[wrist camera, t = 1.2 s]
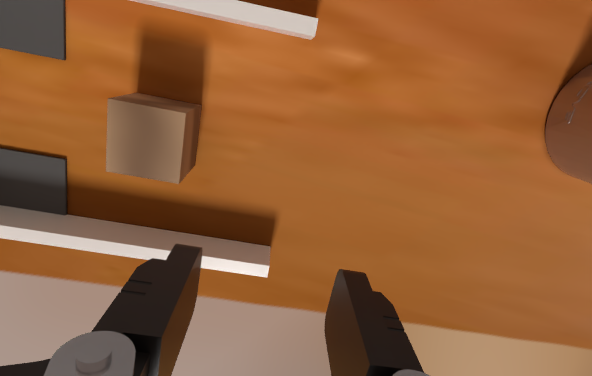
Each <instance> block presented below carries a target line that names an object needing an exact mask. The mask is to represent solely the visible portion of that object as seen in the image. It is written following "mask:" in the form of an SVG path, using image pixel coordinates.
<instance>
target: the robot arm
mask: <svg viewBox="0 0 592 376" xmlns="http://www.w3.org/2000/svg"><path fill="white" fill-rule="evenodd" d="M545 142H546V146H547V150H548V153H549V155H550V157H551V159H552V161H553V162H554V163H555V164H556V165H557V167H558V168H559V169H560V170H562V171H563V172H565V173H567V174H568V175H570V176H573V177H576V178H578V179H581V180H583V181H586V182H588V183H591V184H592V64H591V65H589V66H587V67H586V68H584V69H583V70H581V71H580V72H579V73H578V74H576V75H575V76H574V77H573V78H572V79H571V80H570V81H569V82H568V83H567V84H566V85H565V86H564V87H563V89H562V90H561V91H560V93H559V95H558V96H557V98H556V99H555V101H554V103H553V105H552V107H551V110H550V112H549V114H548V118H547V123H546V128H545ZM202 251H203V250H202V247H196V246H189V245H183V244H175V245H174V247H173V249H172V250H171V252H170V254H169V255H168V257H167V259H166V260H162V259H155V258H152V259H150V260H148V261H147V262H145V263H143V264H142V265H140V266H138V267H137V268H136V270H135V271H134V273H133V274H132V275H131V277H130V278H129V280H128V282H126V284H125V285H124V287H123V288H122V289H121V293H119V294H118V295H117V296H116V298H115V299H114V301H113V302H112V304H111V305H110V306H109V308H108V309H107V311H106V312H105V314H104V315H103V316H102V318H101V319H100V320H99V322H98V323H97V325H96V326H95V328H94V329H93V330H92V332H90V333H86V334H83V335H80V336H78V337H76V338H73V339H71V340H70V341H68V342H66V343H65V344H64V345H62V346H61V347H60V348H59V349H58V350H57V351H56V352H55V353H54V355H53V356H52V358H51V359H47V360H43V361H37V362H30V363H23V364H15V365H7V366H0V376H171V374H172V371H173V369H174V366H175V363H176V360H177V357H178V355H179V352H180V349H181V346H182V343H183V340H184V338H185V335H186V332H187V329H188V326H189V324H190V321H191V318H192V315H193V311H194V308H195V303H196V298H197V292H198V284H199V276H200V269H201V261H202ZM325 337H326V344H327V351H328V357H329V363H330V369H331V376H429V375H427V374H425V373H424V371H423V369H422V367H421V365H420V363H419V361H418V358H417V356H416V354H415V352H414V350H413V347H412V345H411V343H410V341H409V339H408V337H407V334H406V333H405V332H404V328H403V326H402V324H401V321H399V317H398V315H397V313H396V311H395V308H394V306H393V304H392V303H391V302H390V301H389V300H388V299H387V298H386V297H385V296H384V295H383V294H382V293H381V292H375V291H372V288H371V286H370V283H369V281H368V278H367V276H366V274H365V273H363V272H356V271H350V270H343V269H340V270H339V271H338V273H337V275H336V279H335V283H334V286H333V290H332V294H331V297H330V301H329V305H328V308H327V312H326V318H325Z"/></svg>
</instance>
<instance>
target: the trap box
mask: <svg viewBox="0 0 592 376" xmlns="http://www.w3.org/2000/svg"><path fill="white" fill-rule="evenodd" d="M130 1H135V2H140V3H144V4H149V5H153V6H158V7H163V8H167V9H172V10H176V11H181V12H186V13H190V14H195V15H199V16H204V17H209V18H213V19H218V20H222V21H227V22H232V23H236V24H241V25H246V26H250V27H255V28H259V29H264V30H269V31H273V32H278V33H282V34H287V35H292V36H296V37H301V38H305V39H310V40H311V39H312V38H314V37H315V33H316V28H317V23H318V18H314V17H309V16H305V15H300V14H296V13H291V12H287V11H282V10H278V9H273V8H269V7H264V6H260V5H255V4H251V3H247V2H242V1H238V0H130ZM0 48H5V49H10V50H15V51H20V52H25V53H30V54H35V55H40V56H46V57H51V58H56V59H61V60H66V47H65V0H0ZM0 238H4V239H11V240H18V241H25V242H31V243H38V244H45V245H51V246H58V247H65V248H72V249H78V250H85V251H92V252H99V253H105V254H112V255H119V256H126V257H132V258H139V259H146V260H150V259H152V258H155V259H162V260H166V259H167V257H168V255H169V254H170V252H171V250H172V249H173V247H174V245H175V244H183V245H189V246H196V247H202V250H203V251H202V261H201V268H207V269H213V270H220V271H227V272H233V273H240V274H247V275H254V276H260V277H267V276H268V271H269V264H270V248H271V246H265V245H258V244H252V243H245V242H239V241H233V240H226V239H220V238H214V237H207V236H201V235H195V234H188V233H182V232H175V231H169V230H163V229H156V228H150V227H144V226H137V225H131V224H125V223H118V222H112V221H105V220H99V219H93V218H86V217H80V216H74V215H67V159H63V158H57V157H51V156H45V155H39V154H34V153H28V152H22V151H16V150H10V149H4V148H0Z"/></svg>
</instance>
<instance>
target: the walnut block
mask: <svg viewBox="0 0 592 376" xmlns="http://www.w3.org/2000/svg"><path fill="white" fill-rule="evenodd" d="M201 107H202V105H198V104H193V103H188V102H183V101H177V100H172V99H167V98H162V97H157V96H152V95H146V94H141V93H133V94H128V95H123V96H118V97H113V98H108V113H107V149H106V171H107V172H113V173H119V174H125V175H131V176H136V177H142V178H148V179H154V180H160V181H166V182H171V183H177V184H179V183H180V182H181V181H182V180H183V179H184V177H185V176H186V175H187V174H188V173H189V172H190V170H191V169H192V168H193V167H194V166H195V161H196V152H197V143H198V134H199V125H200V116H201Z"/></svg>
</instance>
